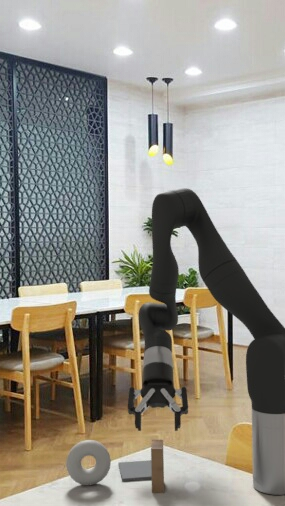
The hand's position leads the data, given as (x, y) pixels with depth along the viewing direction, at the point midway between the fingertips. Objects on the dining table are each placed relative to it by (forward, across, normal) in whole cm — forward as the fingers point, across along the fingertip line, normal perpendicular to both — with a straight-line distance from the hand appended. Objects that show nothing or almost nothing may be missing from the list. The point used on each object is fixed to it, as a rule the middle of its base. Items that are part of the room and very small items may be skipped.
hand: (157, 429), depth 140 cm
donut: (+11, -16, +4) cm, 20 cm away
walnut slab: (+12, 0, +3) cm, 13 cm away
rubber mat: (+6, -5, +9) cm, 12 cm away
